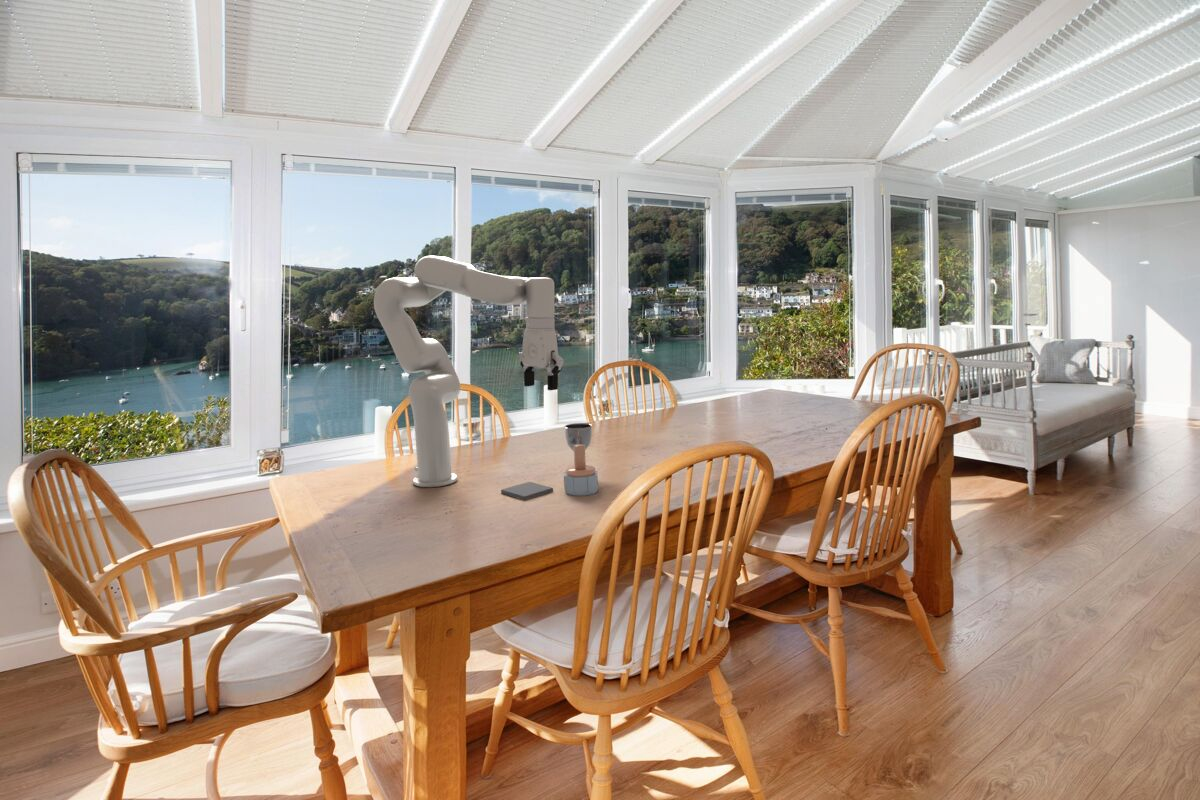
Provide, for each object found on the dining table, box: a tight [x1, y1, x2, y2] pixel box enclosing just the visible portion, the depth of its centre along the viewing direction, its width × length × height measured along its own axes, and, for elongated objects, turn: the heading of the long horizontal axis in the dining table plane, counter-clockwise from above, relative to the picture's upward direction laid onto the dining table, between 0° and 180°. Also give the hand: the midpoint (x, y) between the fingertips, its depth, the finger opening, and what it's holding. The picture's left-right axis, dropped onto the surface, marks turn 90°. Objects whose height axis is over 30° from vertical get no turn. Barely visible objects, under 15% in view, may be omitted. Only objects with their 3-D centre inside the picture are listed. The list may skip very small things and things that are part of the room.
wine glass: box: [564, 422, 593, 452], centre depth 200 cm, size 8×8×15 cm
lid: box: [565, 444, 596, 477], centre depth 184 cm, size 8×8×8 cm
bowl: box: [563, 470, 599, 497], centre depth 185 cm, size 9×9×5 cm
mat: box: [500, 481, 554, 501], centre depth 186 cm, size 10×10×1 cm
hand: (540, 387), depth 185 cm, fingers open, 9 cm apart
